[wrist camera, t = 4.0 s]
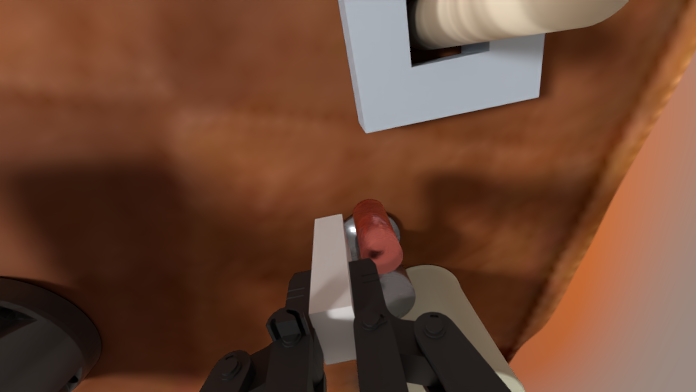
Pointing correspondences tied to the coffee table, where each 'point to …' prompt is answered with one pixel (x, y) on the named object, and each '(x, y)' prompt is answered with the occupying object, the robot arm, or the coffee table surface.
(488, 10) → the dowel
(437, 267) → the can
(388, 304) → the chrome ball lever
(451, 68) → the block
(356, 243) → the crank post
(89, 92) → the coffee table surface
